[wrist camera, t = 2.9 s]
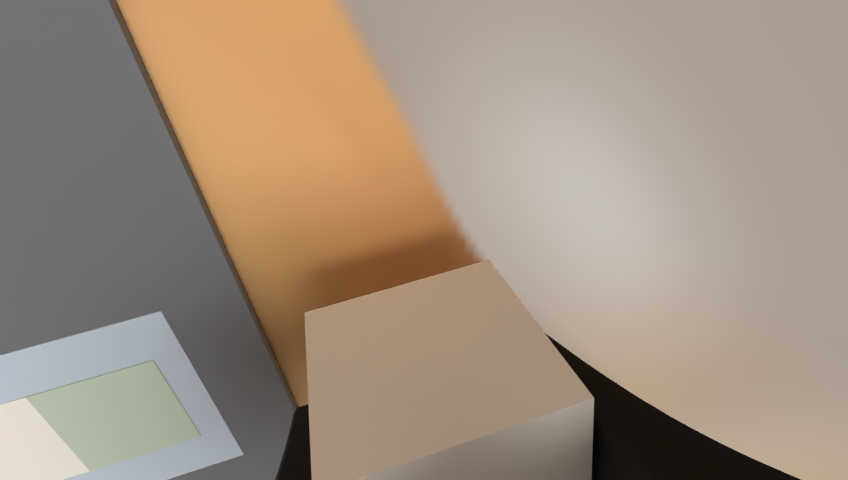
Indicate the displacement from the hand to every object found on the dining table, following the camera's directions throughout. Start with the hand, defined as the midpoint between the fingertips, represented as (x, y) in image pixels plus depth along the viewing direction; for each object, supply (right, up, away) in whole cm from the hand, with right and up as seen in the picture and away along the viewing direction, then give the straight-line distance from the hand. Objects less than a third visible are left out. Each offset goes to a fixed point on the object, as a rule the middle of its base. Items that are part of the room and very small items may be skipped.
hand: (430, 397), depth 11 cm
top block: (0, +1, +1) cm, 2 cm away
